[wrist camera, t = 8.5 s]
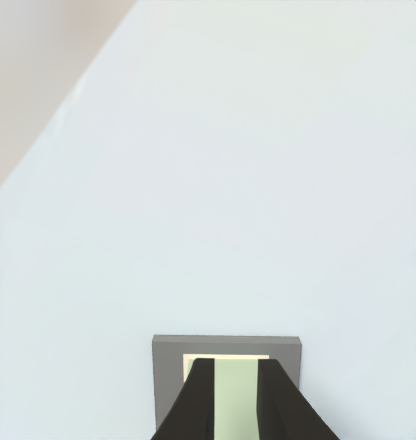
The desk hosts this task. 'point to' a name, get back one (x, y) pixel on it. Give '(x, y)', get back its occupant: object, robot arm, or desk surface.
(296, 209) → the desk surface
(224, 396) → the green domino
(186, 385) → the robot arm
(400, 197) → the desk surface
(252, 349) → the board
